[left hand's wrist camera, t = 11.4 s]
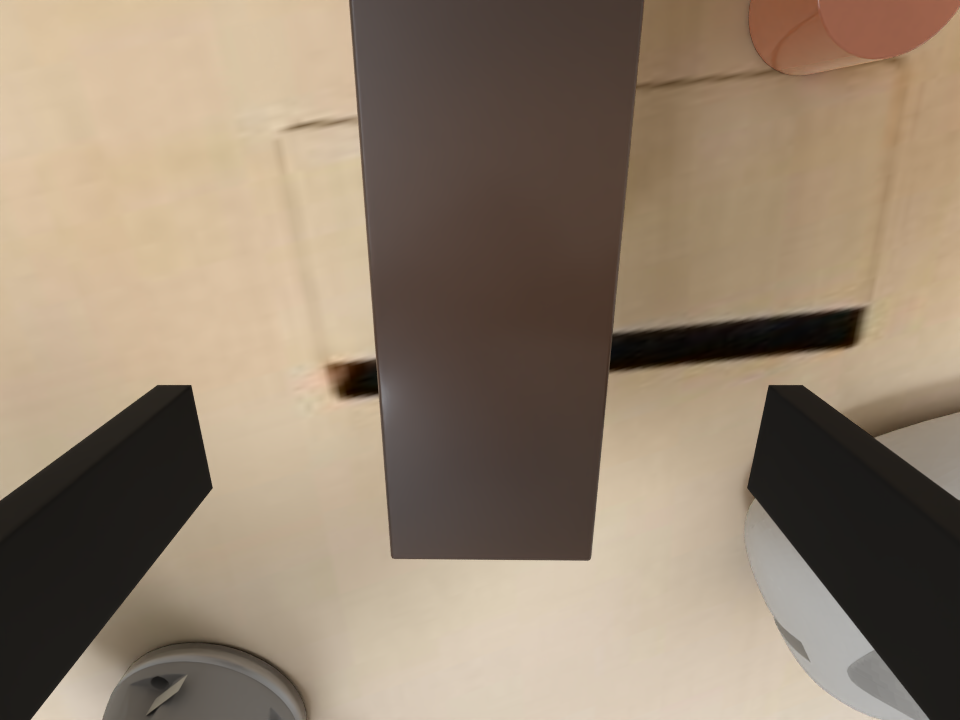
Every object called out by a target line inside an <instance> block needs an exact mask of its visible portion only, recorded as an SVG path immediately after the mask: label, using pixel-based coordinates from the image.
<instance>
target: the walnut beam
mask: <svg viewBox="0 0 960 720" xmlns="http://www.w3.org/2000/svg"><path fill="white" fill-rule="evenodd" d="M349 6H350V19H351V32H352V46H353V59H354V72H355V85H356V98H357V112H358V125H359V138H360V151H361V165H362V178H363V191H364V204H365V217H366V231H367V244H368V257H369V270H370V283H371V297H372V310H373V323H374V336H375V350H376V363H377V376H378V389H379V402H380V416H381V429H382V442H383V455H384V469H385V482H386V495H387V508H388V521H389V535H390V548H391V556H392V558H393V559H474V560H584V561H588V560H590V559H591V553H592V543H593V532H594V522H595V511H596V501H597V490H598V480H599V470H600V459H601V449H602V438H603V428H604V417H605V407H606V396H607V386H608V375H609V365H610V354H611V344H612V333H613V323H614V312H615V302H616V291H617V281H618V271H619V260H620V250H621V239H622V229H623V218H624V208H625V197H626V187H627V176H628V166H629V155H630V145H631V134H632V124H633V113H634V103H635V92H636V82H637V72H638V61H639V51H640V40H641V30H642V19H643V9H644V0H349Z"/></svg>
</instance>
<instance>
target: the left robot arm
mask: <svg viewBox="0 0 960 720" xmlns="http://www.w3.org/2000/svg"><path fill="white" fill-rule="evenodd" d="M212 488H213V487H212V483H211V478H210V473H209V468H208V463H207V459H206V454H205V449H204V444H203V439H202V435H201V430H200V425H199V420H198V415H197V411H196V406H195V401H194V396H193V391H192V387H191V385H157V386H156V387H154V388H153V389H152V390H150V391H149V392H148V393H146V394H145V395H144V396H142V397H141V398H139V399H138V400H137V401H135V402H134V403H133V404H131V405H130V406H129V407H127V408H126V409H124V410H123V411H122V412H120V413H119V414H118V415H116V416H115V417H114V418H112V419H111V420H110V421H108V422H107V423H105V424H104V425H103V426H101V427H100V428H99V429H97V430H96V431H95V432H93V433H92V434H90V435H89V436H88V437H86V438H85V439H84V440H82V441H81V442H80V443H78V444H77V445H76V446H74V447H73V448H71V449H70V450H69V451H67V452H66V453H65V454H63V455H62V456H61V457H59V458H58V459H56V460H55V461H54V462H52V463H51V464H50V465H48V466H47V467H46V468H44V469H43V470H42V471H40V472H39V473H37V474H36V475H35V476H33V477H32V478H31V479H29V480H28V481H27V482H25V483H24V484H22V485H21V486H20V487H18V488H17V489H16V490H14V491H13V492H12V493H10V494H9V495H8V496H6V497H5V498H3V499H2V500H1V501H0V720H31V718H32V717H33V716H34V715H35V713H36V712H37V711H38V710H39V708H40V707H41V706H42V704H43V703H44V702H45V701H46V699H47V698H48V697H49V696H50V694H51V693H52V692H53V690H54V689H55V688H56V687H57V685H58V684H59V683H60V682H61V680H62V679H63V678H64V676H65V675H66V674H67V673H68V671H69V670H70V669H71V668H72V666H73V665H74V664H75V662H76V661H77V660H78V659H79V657H80V656H81V655H82V654H83V652H84V651H85V650H86V649H87V647H88V646H89V645H90V643H91V642H92V641H93V640H94V638H95V637H96V636H97V635H98V633H99V632H100V631H101V629H102V628H103V627H104V626H105V624H106V623H107V622H108V621H109V619H110V618H111V617H112V615H113V614H114V613H115V612H116V610H117V609H118V608H119V607H120V605H121V604H122V603H123V601H124V600H125V599H126V598H127V596H128V595H129V594H130V593H131V591H132V590H133V589H134V587H135V586H136V585H137V584H138V582H139V581H140V580H141V579H142V577H143V576H144V575H145V573H146V572H147V571H148V570H149V568H150V567H151V566H152V565H153V563H154V562H155V561H156V559H157V558H158V557H159V556H160V554H161V553H162V552H163V551H164V549H165V548H166V547H167V545H168V544H169V543H170V542H171V540H172V539H173V538H174V537H175V535H176V534H177V533H178V531H179V530H180V529H181V528H182V526H183V525H184V524H185V523H186V521H187V520H188V519H189V518H190V516H191V515H192V514H193V512H194V511H195V510H196V509H197V507H198V506H199V505H200V504H201V502H202V501H203V500H204V498H205V497H206V496H207V495H208V493H209V492H210V491H211V490H212ZM747 488H748V490H749V491H750V492H751V493H752V495H753V496H754V497H755V498H756V500H757V501H758V502H759V504H760V505H761V506H762V507H763V509H764V510H765V511H766V512H767V514H768V515H769V516H770V518H771V519H772V520H773V521H774V523H775V524H776V525H777V526H778V528H779V529H780V530H781V532H782V533H783V534H784V535H785V537H786V538H787V539H788V540H789V542H790V543H791V544H792V545H793V547H794V548H795V549H796V551H797V552H798V553H799V554H800V556H801V557H802V558H803V559H804V561H805V562H806V563H807V565H808V566H809V567H810V568H811V570H812V571H813V572H814V573H815V575H816V576H817V577H818V579H819V580H820V581H821V582H822V584H823V585H824V586H825V587H826V589H827V590H828V591H829V593H830V594H831V595H832V596H833V598H834V599H835V600H836V601H837V603H838V604H839V605H840V607H841V608H842V609H843V610H844V612H845V613H846V614H847V615H848V617H849V618H850V619H851V621H852V622H853V623H854V624H855V626H856V627H857V628H858V629H859V631H860V632H861V633H862V635H863V636H864V637H865V638H866V640H867V641H868V642H869V643H870V645H871V646H872V647H873V649H874V650H875V651H876V652H877V654H878V655H879V656H880V657H881V659H882V660H883V661H884V662H885V664H886V665H887V666H888V668H889V669H890V670H891V671H892V673H893V674H894V675H895V676H896V678H897V679H898V680H899V682H900V683H901V684H902V685H903V687H904V688H905V689H906V690H907V692H908V693H909V694H910V696H911V697H912V698H913V699H914V701H915V702H916V703H917V704H918V706H919V707H920V708H921V710H922V711H923V712H924V713H925V715H926V716H927V717H928V718H929V720H960V500H958V499H957V498H955V497H954V496H952V495H951V494H950V493H948V492H947V491H946V490H944V489H943V488H942V487H940V486H939V485H938V484H936V483H935V482H933V481H932V480H931V479H929V478H928V477H927V476H925V475H924V474H923V473H921V472H920V471H918V470H917V469H916V468H914V467H913V466H912V465H910V464H909V463H908V462H906V461H905V460H904V459H902V458H901V457H899V456H898V455H897V454H895V453H894V452H893V451H891V450H890V449H889V448H887V447H886V446H884V445H883V444H882V443H880V442H879V441H878V440H876V439H875V438H874V437H872V436H871V435H870V434H868V433H867V432H865V431H864V430H863V429H861V428H860V427H859V426H857V425H856V424H855V423H853V422H852V421H850V420H849V419H848V418H846V417H845V416H844V415H842V414H841V413H840V412H838V411H837V410H836V409H834V408H833V407H831V406H830V405H829V404H827V403H826V402H825V401H823V400H822V399H821V398H819V397H818V396H816V395H815V394H814V393H812V392H811V391H810V390H808V389H807V388H806V387H804V386H803V385H769V387H768V391H767V396H766V401H765V406H764V411H763V415H762V420H761V425H760V430H759V435H758V439H757V444H756V449H755V454H754V459H753V463H752V468H751V473H750V478H749V483H748V487H747ZM102 720H307V719H306V710H305V706H304V703H303V701H302V699H301V697H300V695H299V693H298V692H297V690H296V688H295V687H294V686H293V685H292V683H291V682H290V681H289V680H288V679H287V678H286V677H285V676H284V675H283V674H281V673H280V672H279V671H278V670H276V669H275V668H274V667H272V666H271V665H269V664H268V663H266V662H264V661H263V660H261V659H259V658H257V657H255V656H253V655H250V654H248V653H245V652H243V651H240V650H237V649H233V648H230V647H226V646H221V645H215V644H206V643H183V644H175V645H170V646H166V647H162V648H159V649H156V650H154V651H151V652H149V653H147V654H145V655H144V656H142V657H141V658H139V659H138V660H137V661H135V662H134V663H133V664H132V665H131V666H130V668H129V669H128V670H127V672H126V673H125V674H124V676H123V677H122V679H121V680H120V682H119V683H118V685H117V686H116V688H115V689H114V691H113V693H112V694H111V697H110V699H109V702H108V704H107V707H106V710H105V713H104V716H103V719H102Z"/></svg>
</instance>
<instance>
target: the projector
mask: <svg viewBox="0 0 960 720" xmlns="http://www.w3.org/2000/svg"><path fill="white" fill-rule="evenodd" d="M874 438H875V439H876V440H878V441H879V442H880V443H882V444H883V445H884V446H886V447H887V448H889V449H890V450H891V451H893V452H894V453H895V454H897V455H898V456H899V457H901V458H902V459H904V460H905V461H906V462H908V463H909V464H910V465H912V466H913V467H914V468H916V469H917V470H918V471H920V472H921V473H923V474H924V475H925V476H927V477H928V478H929V479H931V480H932V481H933V482H935V483H936V484H938V485H939V486H940V487H942V488H943V489H944V490H946V491H947V492H948V493H950V494H951V495H952V496H954V497H955V498H957V499H958V500H960V412H958V413H954V414H950V415H946V416H942V417H939V418H935V419H931V420H927V421H924V422H921V423H917V424H914V425H911V426H908V427H904V428H901V429H898V430H895V431H892V432H889V433H886V434H883V435H880V436H877V437H874ZM744 540H745V546H746V551H747V555H748V558H749V562H750V566H751V569H752V571H753V574H754V577H755V580H756V582H757V584H758V587H759V589H760V592H761V594H762V596H763V598H764V600H765V602H766V605H767V607H768V608H769V610H770V612H771V613H772V615H773V617H774V620H775V623H776V625H777V627H778V629H779V631H780V633H781V635H782V637H783V639H784V641H785V642H786V644H787V646H788V647H789V649H790V651H791V652H792V654H793V656H794V657H795V659H796V660H797V661H798V663H799V664H800V666H801V667H802V668H803V669H804V670H805V672H806V673H807V674H808V675H809V676H810V677H811V678H812V679H813V680H814V681H815V682H816V683H817V684H818V685H819V686H820V687H821V688H822V689H823V690H825V691H826V692H828V693H829V694H830V695H832V696H833V697H835V698H836V699H838V700H839V701H841V702H842V703H844V704H846V705H848V706H849V707H851V708H853V709H855V710H857V711H859V712H861V713H863V714H866V715H868V716H871V717H874V718H878V719H881V720H929V718H928V717H927V716H926V715H925V713H924V712H923V711H922V710H921V708H920V707H919V706H918V704H917V703H916V702H915V701H914V699H913V698H912V697H911V696H910V694H909V693H908V692H907V690H906V689H905V688H904V687H903V685H902V684H901V683H900V682H899V680H898V679H897V678H896V676H895V675H894V674H893V673H892V671H891V670H890V669H889V668H888V666H887V665H886V664H885V662H884V661H883V660H882V659H881V657H880V656H879V655H878V654H877V652H876V651H875V650H874V649H873V647H872V646H871V645H870V643H869V642H868V641H867V640H866V638H865V637H864V636H863V635H862V633H861V632H860V631H859V629H858V628H857V627H856V626H855V624H854V623H853V622H852V621H851V619H850V618H849V617H848V615H847V614H846V613H845V612H844V610H843V609H842V608H841V607H840V605H839V604H838V603H837V601H836V600H835V599H834V598H833V596H832V595H831V594H830V593H829V591H828V590H827V589H826V587H825V586H824V585H823V584H822V582H821V581H820V580H819V579H818V577H817V576H816V575H815V573H814V572H813V571H812V570H811V568H810V567H809V566H808V565H807V563H806V562H805V561H804V559H803V558H802V557H801V556H800V554H799V553H798V552H797V551H796V549H795V548H794V547H793V545H792V544H791V543H790V542H789V540H788V539H787V538H786V537H785V535H784V534H783V533H782V532H781V530H780V529H779V528H778V526H777V525H776V524H775V523H774V521H773V520H772V519H771V518H770V516H769V515H768V514H767V512H766V511H765V510H764V509H763V507H762V506H761V505H760V504H759V502H758V501H757V500H756V498H755V499H754V500H753V502H752V503H751V505H750V507H749V510H748V512H747V515H746V520H745V526H744Z"/></svg>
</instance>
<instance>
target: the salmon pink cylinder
mask: <svg viewBox="0 0 960 720" xmlns="http://www.w3.org/2000/svg"><path fill="white" fill-rule="evenodd" d="M959 7H960V0H751V2H750V9H749V28H750V34H751V38H752V42H753V44H754V46H755V49H756V50H757V52H758V54H759V55H760V57H761V58H762V59H763V60H764V61H765V62H766V63H767V64H768V65H769V66H770V67H772V68H774V69H775V70H777V71H779V72H782V73H785V74H789V75H798V76H800V75H810V74H814V73H819V72H824V71H829V70H834V69H839V68H844V67H849V66H854V65H858V64H863V63H868V62H873V61H878V60H883V59H888V58H892V57H897V56H899V55H902V54H905V53H907V52H909V51H912V50H914V49H916V48H917V47H919V46H920V45H922V44H924V43H925V42H927V41H928V40H929V39H930V38H932V37H933V36H934V35H936V34H937V33H938V32H939V31H940V30H941V29H942V28H943V27H944V26H945V25H946V24H947V23H948V21H949V20H950V19H951V18H952V17H953V16H954V14H955V13H956V11H957V10H958V9H959Z"/></svg>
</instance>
